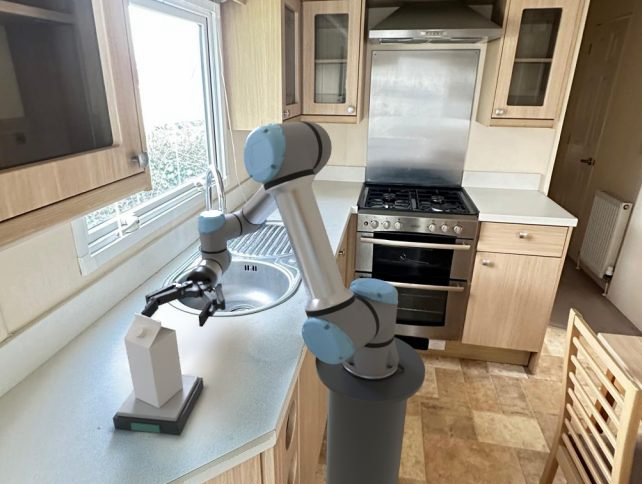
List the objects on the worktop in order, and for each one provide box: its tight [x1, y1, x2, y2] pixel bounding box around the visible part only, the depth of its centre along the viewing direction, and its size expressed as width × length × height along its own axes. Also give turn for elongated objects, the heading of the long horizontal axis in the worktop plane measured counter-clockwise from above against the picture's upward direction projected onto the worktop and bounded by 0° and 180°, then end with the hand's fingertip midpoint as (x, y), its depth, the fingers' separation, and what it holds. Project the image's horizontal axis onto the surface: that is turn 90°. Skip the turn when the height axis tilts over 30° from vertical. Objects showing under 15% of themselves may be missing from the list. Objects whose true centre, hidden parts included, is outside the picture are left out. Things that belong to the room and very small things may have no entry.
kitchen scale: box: [112, 374, 205, 437], centre depth 89 cm, size 14×14×4 cm
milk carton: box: [123, 312, 183, 408], centre depth 85 cm, size 7×7×19 cm
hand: (171, 319), depth 93 cm, fingers open, 13 cm apart
